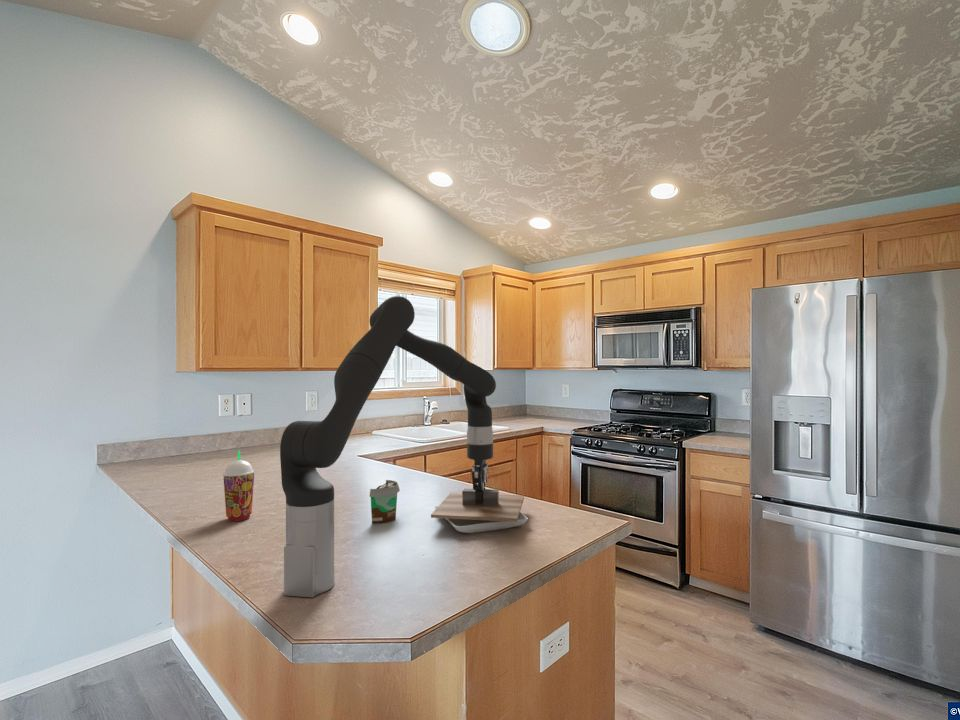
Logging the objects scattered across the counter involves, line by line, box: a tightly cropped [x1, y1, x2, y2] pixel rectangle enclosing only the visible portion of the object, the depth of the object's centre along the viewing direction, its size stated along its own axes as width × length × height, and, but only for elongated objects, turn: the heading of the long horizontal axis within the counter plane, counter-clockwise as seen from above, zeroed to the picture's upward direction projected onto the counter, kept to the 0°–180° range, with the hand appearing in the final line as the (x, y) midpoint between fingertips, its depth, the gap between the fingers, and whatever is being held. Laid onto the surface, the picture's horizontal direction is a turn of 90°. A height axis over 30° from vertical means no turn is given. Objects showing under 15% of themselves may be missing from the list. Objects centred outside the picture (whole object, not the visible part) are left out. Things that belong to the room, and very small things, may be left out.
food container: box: [369, 479, 400, 525], centre depth 140 cm, size 12×6×10 cm, turn 168°
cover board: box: [430, 488, 525, 522], centre depth 137 cm, size 23×23×5 cm
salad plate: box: [434, 505, 529, 534], centre depth 137 cm, size 21×21×3 cm
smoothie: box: [222, 450, 256, 522], centre depth 142 cm, size 8×8×20 cm
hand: (480, 501), depth 137 cm, fingers closed on cover board, 3 cm apart
